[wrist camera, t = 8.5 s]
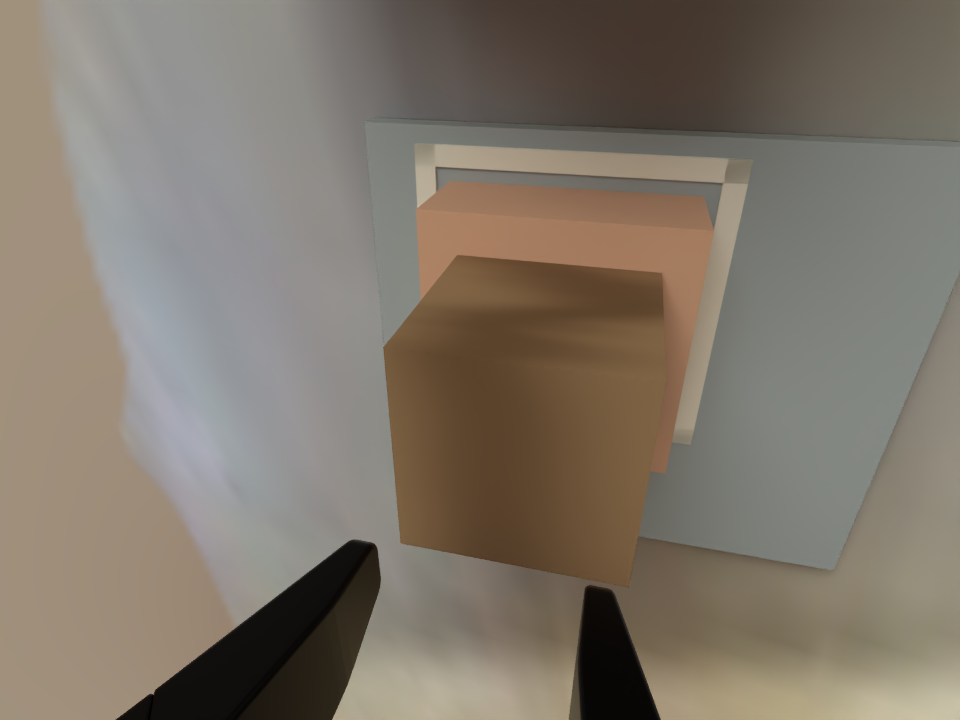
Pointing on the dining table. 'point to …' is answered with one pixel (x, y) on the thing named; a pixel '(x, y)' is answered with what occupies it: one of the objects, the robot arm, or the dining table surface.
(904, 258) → the grey flat slab
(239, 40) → the dining table surface
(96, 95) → the dining table surface
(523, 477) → the walnut cube
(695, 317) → the terracotta base
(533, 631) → the dining table surface
